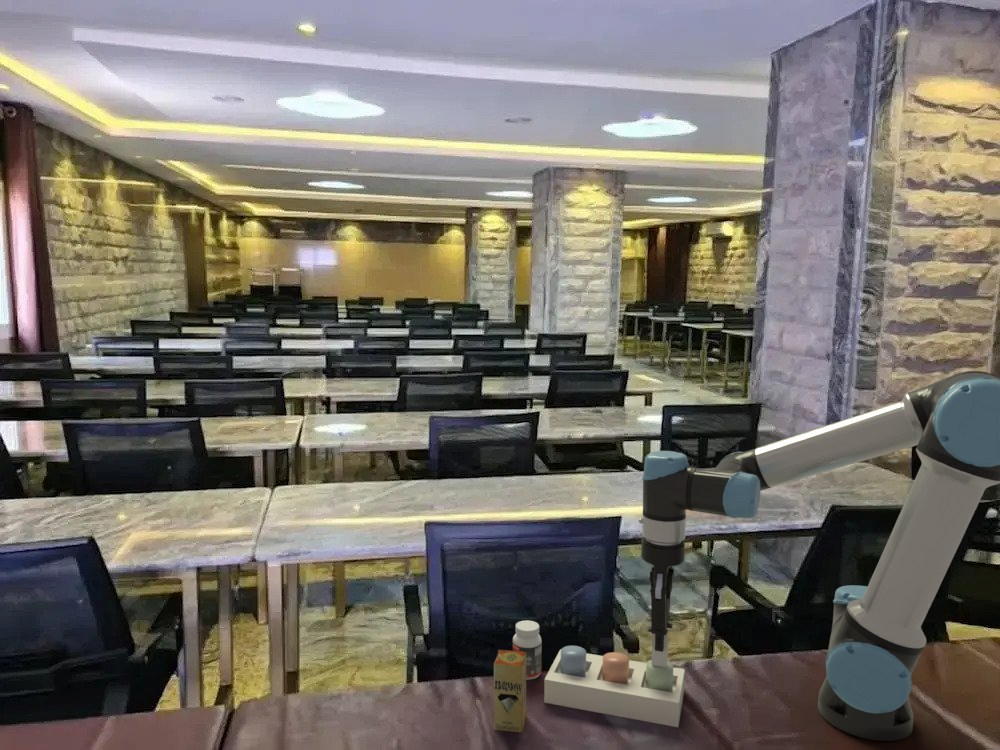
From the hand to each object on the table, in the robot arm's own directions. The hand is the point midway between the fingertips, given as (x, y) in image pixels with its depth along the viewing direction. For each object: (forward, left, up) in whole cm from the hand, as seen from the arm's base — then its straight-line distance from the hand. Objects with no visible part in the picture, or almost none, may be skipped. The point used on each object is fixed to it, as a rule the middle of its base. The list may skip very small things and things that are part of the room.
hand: (659, 664), depth 133 cm
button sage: (0, 0, -4) cm, 4 cm away
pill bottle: (+26, -3, -8) cm, 27 cm away
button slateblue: (+16, 0, -4) cm, 16 cm away
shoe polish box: (+24, +14, -8) cm, 29 cm away
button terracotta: (+8, 0, -4) cm, 9 cm away
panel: (+8, 0, -8) cm, 11 cm away
